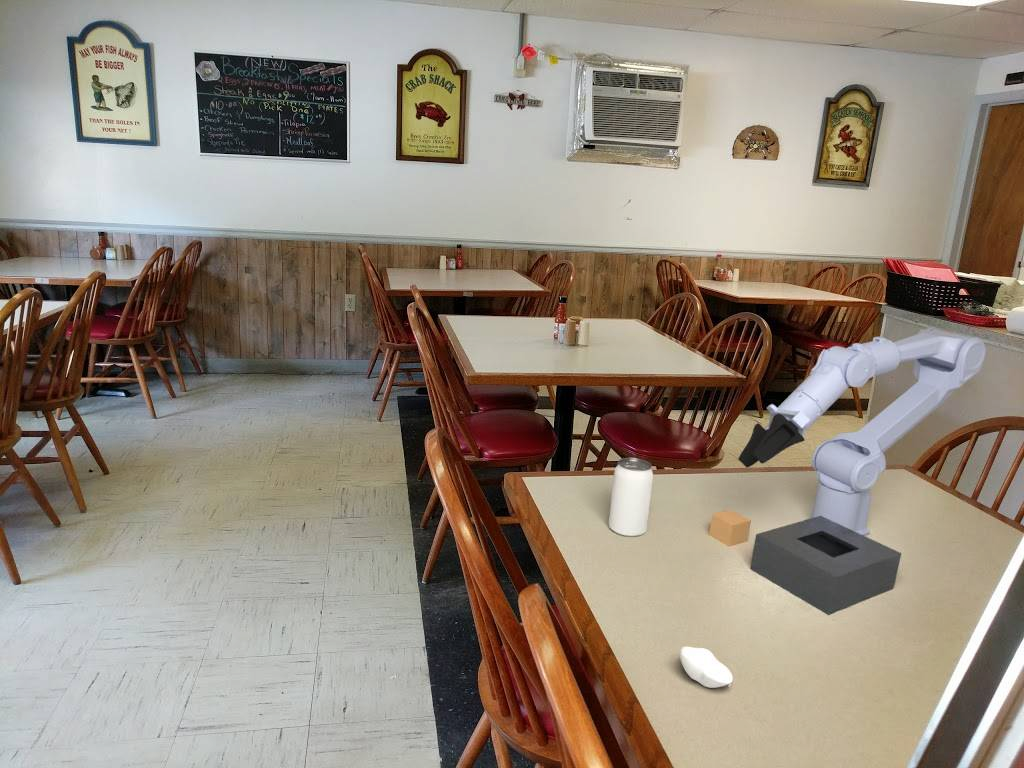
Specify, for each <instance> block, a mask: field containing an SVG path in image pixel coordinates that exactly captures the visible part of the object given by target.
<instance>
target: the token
mask: <svg viewBox="0 0 1024 768" xmlns="http://www.w3.org/2000/svg"><path fill="white" fill-rule="evenodd" d="M751 524H752V521H751V520H750V519H749V518H747V517H746V516H744V515H741V514H739V513H737V512H736V511H734V510H732V509H729V510H725V511H721V512H717V513H713V514H711V520H710V526H709V527H710V528H709V533H708V536H710V537H711V536H712V538H713V539H715V540H717V541H719V542H720V543H722V544H724V545H726V546H727V547H732V546H736V545H740V544H743V543H747V542H748V540H749V534H750V529H751Z"/></svg>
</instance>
